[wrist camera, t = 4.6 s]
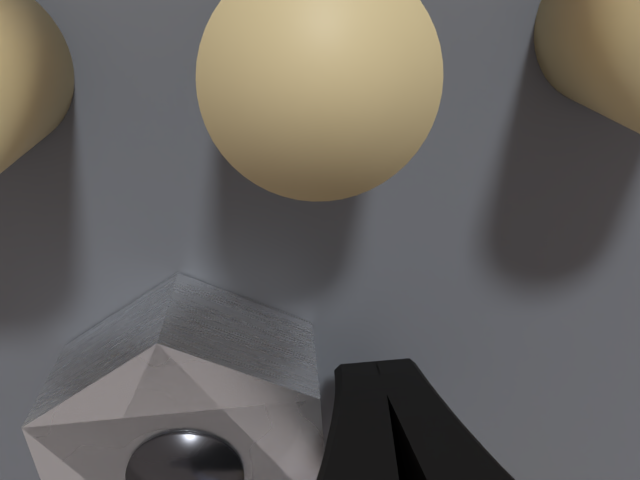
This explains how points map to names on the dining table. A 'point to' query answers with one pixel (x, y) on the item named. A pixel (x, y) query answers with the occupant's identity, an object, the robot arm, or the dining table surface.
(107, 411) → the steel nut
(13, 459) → the board
